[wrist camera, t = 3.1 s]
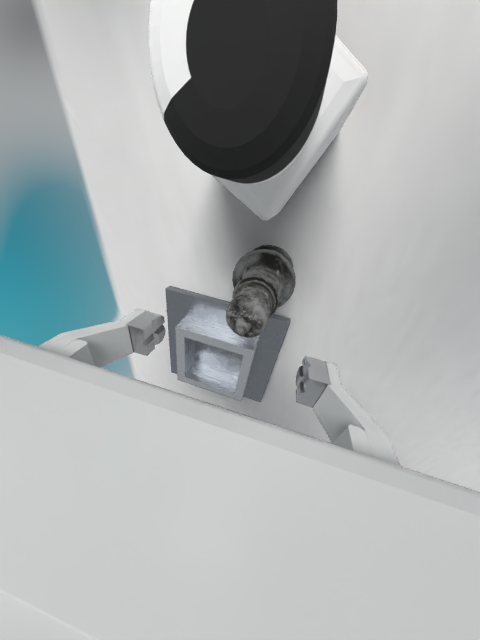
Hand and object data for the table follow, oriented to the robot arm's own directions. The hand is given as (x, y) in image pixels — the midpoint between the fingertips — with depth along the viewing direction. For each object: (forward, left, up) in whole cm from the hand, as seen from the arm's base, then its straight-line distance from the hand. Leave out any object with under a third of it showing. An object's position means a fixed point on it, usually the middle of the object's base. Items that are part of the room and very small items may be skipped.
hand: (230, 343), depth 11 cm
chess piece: (0, 0, -13) cm, 13 cm away
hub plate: (+4, +13, -13) cm, 18 cm away
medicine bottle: (+2, -10, -13) cm, 17 cm away
